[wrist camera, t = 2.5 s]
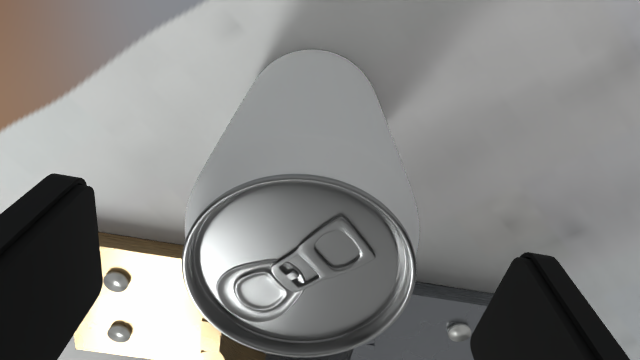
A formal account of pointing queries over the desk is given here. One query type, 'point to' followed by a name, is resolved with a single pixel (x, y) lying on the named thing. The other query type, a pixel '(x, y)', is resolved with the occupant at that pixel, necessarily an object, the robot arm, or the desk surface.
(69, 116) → the desk surface
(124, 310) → the hinge
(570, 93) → the desk surface
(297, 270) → the can
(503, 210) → the desk surface
